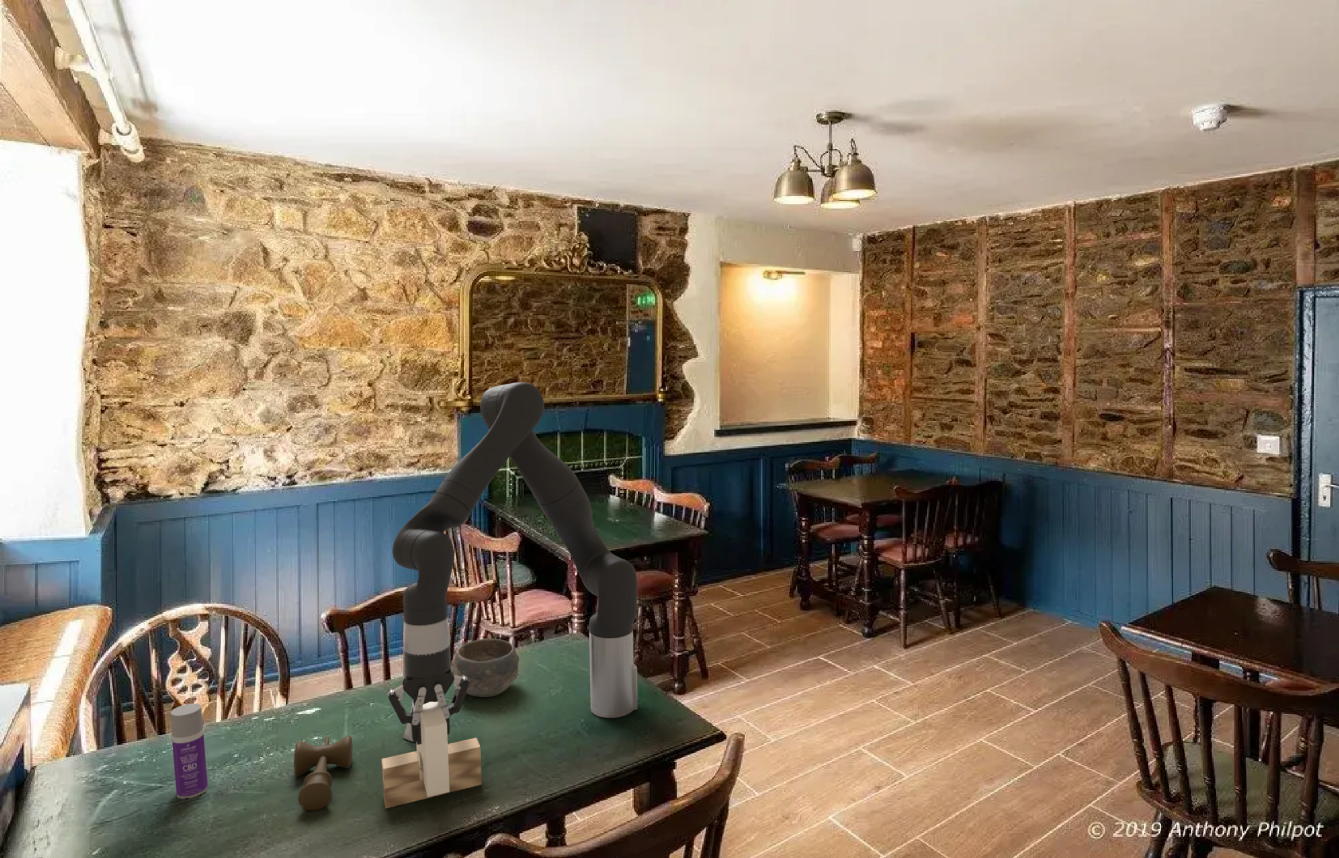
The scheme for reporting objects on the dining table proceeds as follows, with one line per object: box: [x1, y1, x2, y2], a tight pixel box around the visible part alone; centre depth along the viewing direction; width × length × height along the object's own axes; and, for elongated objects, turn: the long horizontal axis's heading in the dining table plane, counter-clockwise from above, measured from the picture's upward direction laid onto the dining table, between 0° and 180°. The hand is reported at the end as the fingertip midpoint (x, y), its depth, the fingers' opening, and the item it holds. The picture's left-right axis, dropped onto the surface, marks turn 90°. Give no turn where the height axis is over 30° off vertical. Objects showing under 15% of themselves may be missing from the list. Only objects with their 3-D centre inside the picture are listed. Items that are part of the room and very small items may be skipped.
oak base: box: [381, 737, 482, 809], centre depth 131 cm, size 16×4×7 cm, turn 115°
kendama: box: [293, 735, 354, 812], centre depth 135 cm, size 6×10×20 cm
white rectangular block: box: [415, 702, 451, 798], centre depth 130 cm, size 14×4×12 cm, turn 25°
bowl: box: [451, 638, 520, 698], centre depth 169 cm, size 14×15×10 cm
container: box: [170, 703, 209, 800], centre depth 131 cm, size 5×5×15 cm
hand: (431, 739), depth 130 cm, fingers closed on white rectangular block, 3 cm apart
